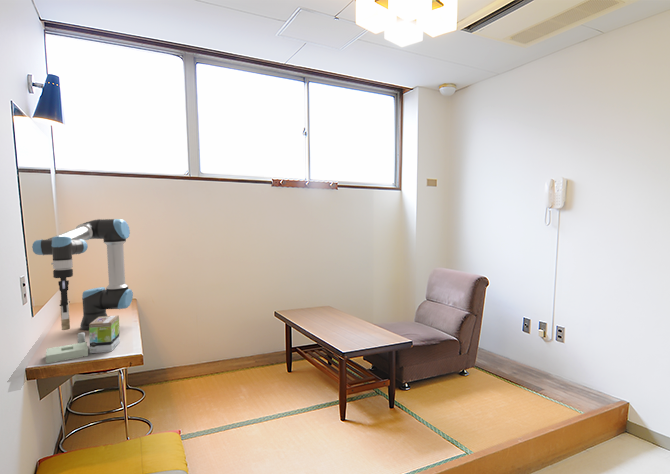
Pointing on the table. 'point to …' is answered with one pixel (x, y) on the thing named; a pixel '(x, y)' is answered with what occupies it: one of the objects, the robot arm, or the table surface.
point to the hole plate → (66, 352)
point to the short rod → (81, 337)
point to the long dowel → (65, 320)
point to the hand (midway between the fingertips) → (65, 317)
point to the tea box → (104, 334)
